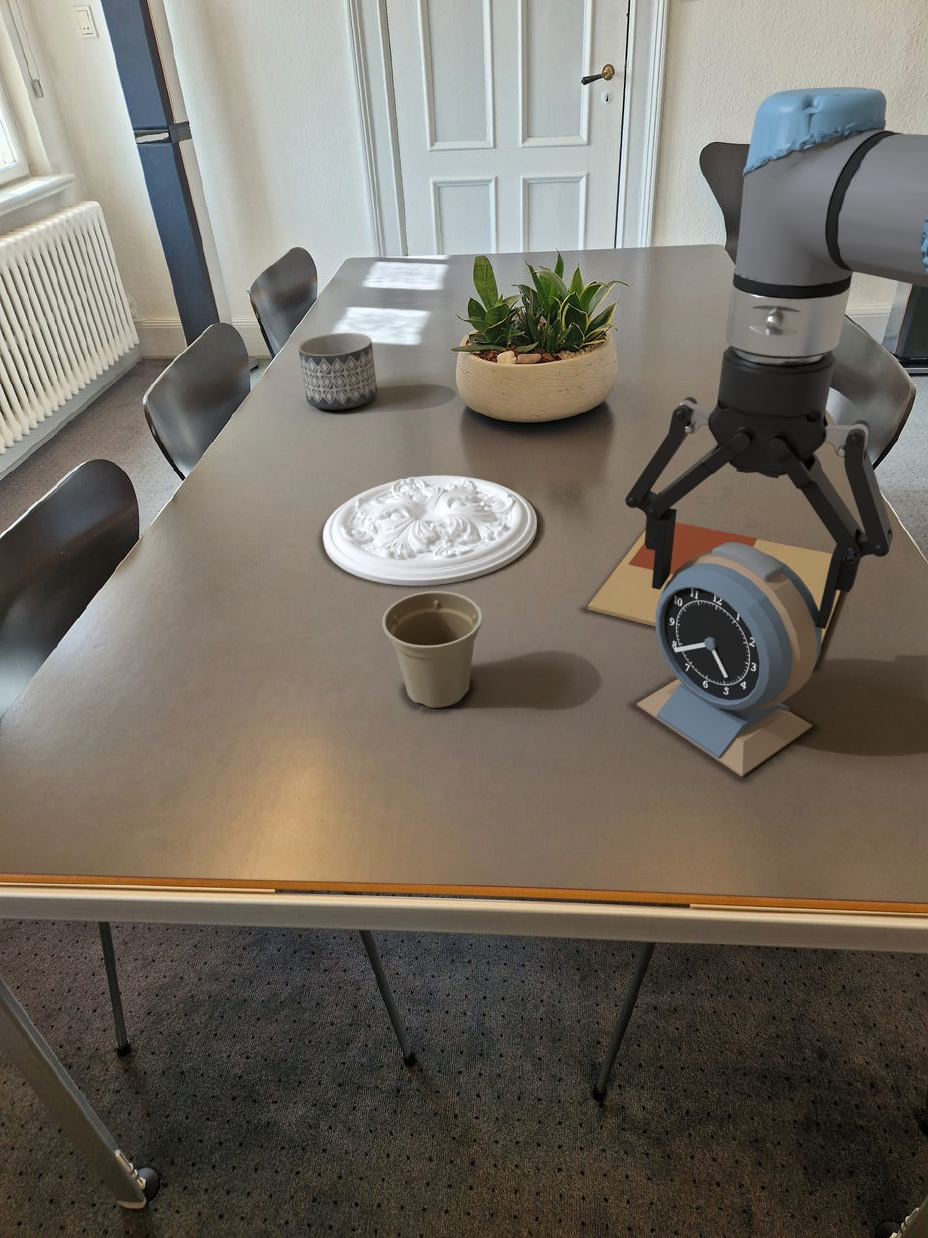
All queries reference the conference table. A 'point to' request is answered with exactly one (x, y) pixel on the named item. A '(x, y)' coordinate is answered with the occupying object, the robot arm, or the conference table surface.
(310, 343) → the planter
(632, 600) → the mat
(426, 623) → the flower pot
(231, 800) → the conference table surface
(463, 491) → the ceiling medallion
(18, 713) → the conference table surface
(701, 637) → the alarm clock
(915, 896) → the conference table surface
